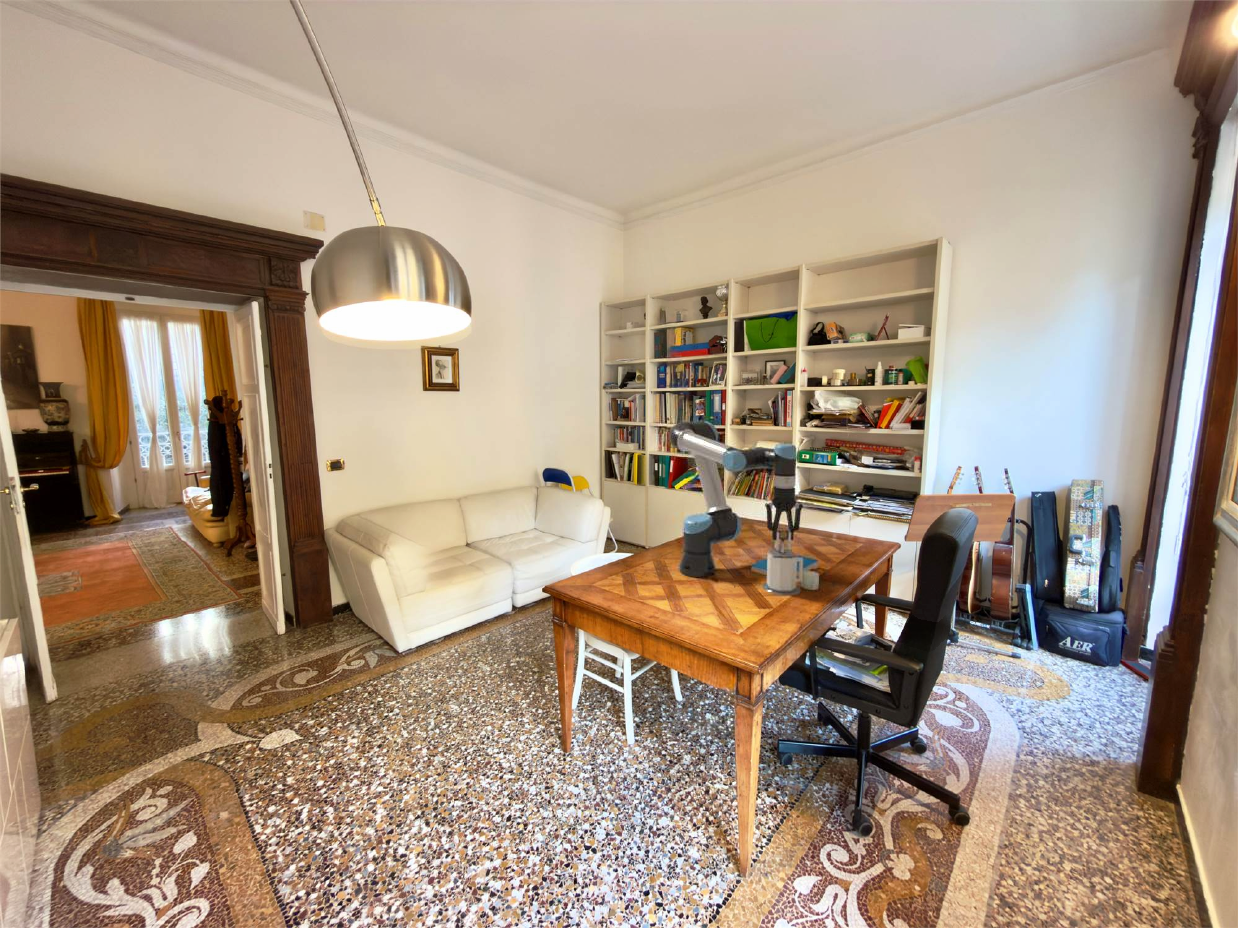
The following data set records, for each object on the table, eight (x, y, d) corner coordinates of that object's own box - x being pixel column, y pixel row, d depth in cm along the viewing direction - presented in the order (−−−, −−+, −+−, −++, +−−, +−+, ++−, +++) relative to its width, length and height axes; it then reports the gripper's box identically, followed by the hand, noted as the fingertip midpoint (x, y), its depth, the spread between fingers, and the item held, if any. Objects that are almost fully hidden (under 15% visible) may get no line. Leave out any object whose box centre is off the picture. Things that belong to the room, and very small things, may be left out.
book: (818, 559, 203) (788, 574, 186) (818, 569, 204) (788, 585, 187) (781, 550, 216) (750, 563, 199) (780, 559, 216) (749, 573, 199)
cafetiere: (763, 582, 187) (764, 548, 185) (796, 582, 186) (798, 547, 184) (771, 593, 176) (772, 557, 174) (806, 593, 176) (807, 556, 174)
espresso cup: (799, 585, 185) (799, 570, 184) (814, 585, 185) (815, 570, 184) (805, 593, 178) (806, 578, 177) (822, 593, 177) (822, 578, 177)
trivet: (757, 582, 189) (757, 580, 188) (793, 582, 188) (794, 580, 188) (767, 597, 175) (767, 595, 175) (806, 597, 174) (806, 595, 174)
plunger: (775, 569, 182) (776, 529, 180) (785, 569, 182) (786, 528, 180) (778, 572, 179) (779, 531, 176) (788, 572, 178) (789, 531, 176)
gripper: (764, 488, 172) (762, 551, 176) (811, 488, 172) (808, 551, 175) (758, 484, 180) (757, 545, 183) (804, 484, 179) (801, 545, 182)
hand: (782, 548), depth 179 cm, fingers closed on plunger, 4 cm apart
